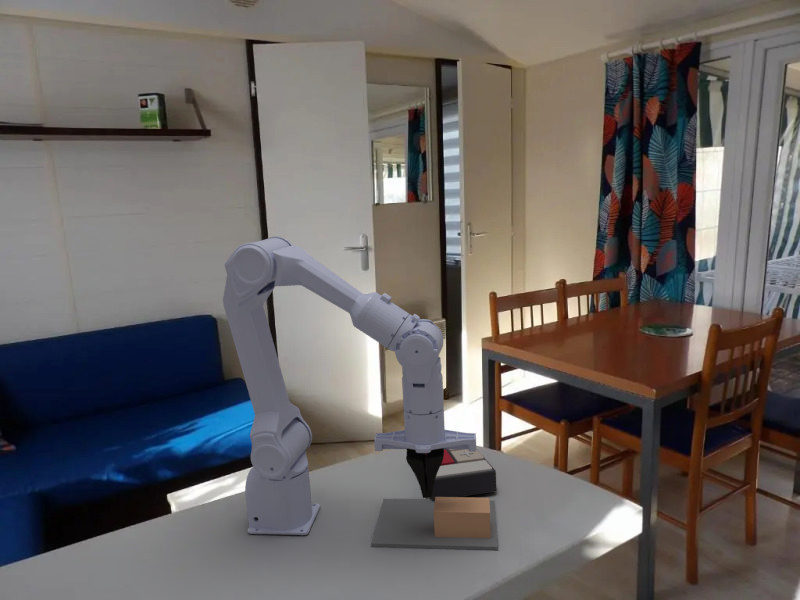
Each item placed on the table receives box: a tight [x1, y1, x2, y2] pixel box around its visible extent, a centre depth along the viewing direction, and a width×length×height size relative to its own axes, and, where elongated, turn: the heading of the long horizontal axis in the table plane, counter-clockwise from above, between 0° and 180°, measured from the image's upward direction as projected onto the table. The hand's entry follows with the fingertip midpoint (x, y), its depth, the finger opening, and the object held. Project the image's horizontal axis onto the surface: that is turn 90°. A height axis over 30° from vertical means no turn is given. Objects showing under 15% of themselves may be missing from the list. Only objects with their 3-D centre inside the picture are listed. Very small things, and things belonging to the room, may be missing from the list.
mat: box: [370, 498, 499, 551], centre depth 88 cm, size 18×12×1 cm, turn 83°
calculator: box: [426, 448, 497, 500], centre depth 101 cm, size 11×4×15 cm
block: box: [434, 496, 491, 538], centre depth 85 cm, size 4×4×8 cm
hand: (427, 494), depth 85 cm, fingers closed
